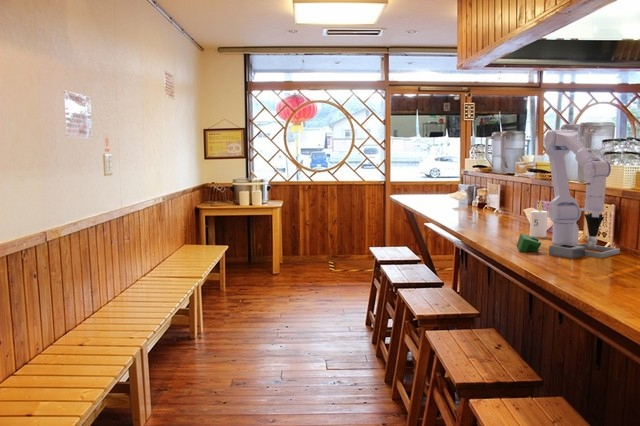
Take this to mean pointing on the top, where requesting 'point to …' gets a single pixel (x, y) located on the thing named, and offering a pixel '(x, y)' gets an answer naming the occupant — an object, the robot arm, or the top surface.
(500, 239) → the top surface
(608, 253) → the tray
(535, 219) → the candle
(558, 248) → the block
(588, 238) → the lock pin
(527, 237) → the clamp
